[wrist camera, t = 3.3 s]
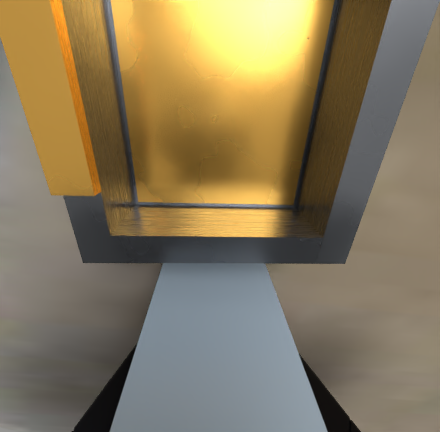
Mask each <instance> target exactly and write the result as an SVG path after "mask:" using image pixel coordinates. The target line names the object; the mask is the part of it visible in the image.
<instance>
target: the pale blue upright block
mask: <svg viewBox="0 0 440 432" xmlns="http://www.w3.org/2000/svg"><path fill="white" fill-rule="evenodd" d="M110 432H327V429H326V426H325V423H324V421H323V418H322V415H321V413H320V410H319V407H318V405H317V402H316V399H315V397H314V394H313V391H312V388H311V386H310V383H309V380H308V378H307V375H306V372H305V370H304V367H303V364H302V362H301V359H300V356H299V354H298V351H297V348H296V345H295V343H294V340H293V337H292V335H291V332H290V329H289V327H288V324H287V321H286V319H285V316H284V313H283V311H282V308H281V305H280V302H279V300H278V297H277V294H276V292H275V289H274V286H273V284H272V281H271V278H270V276H269V273H268V270H267V267H266V265H265V263H163V265H162V268H161V271H160V274H159V278H158V281H157V284H156V287H155V290H154V293H153V297H152V300H151V303H150V306H149V309H148V312H147V315H146V319H145V322H144V325H143V328H142V331H141V334H140V337H139V341H138V344H137V347H136V350H135V353H134V356H133V360H132V363H131V366H130V369H129V372H128V375H127V378H126V382H125V385H124V388H123V391H122V394H121V397H120V401H119V404H118V407H117V410H116V413H115V416H114V419H113V423H112V426H111V429H110Z"/></svg>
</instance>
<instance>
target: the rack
mask: <svg viewBox="0 0 440 432" xmlns="http://www.w3.org/2000/svg"><path fill="white" fill-rule="evenodd" d="M439 2H440V0H0V37H1V40H2V44H3V47H4V50H5V53H6V56H7V59H8V62H9V65H10V68H11V72H12V75H13V78H14V81H15V84H16V87H17V90H18V93H19V96H20V100H21V103H22V106H23V109H24V112H25V115H26V118H27V121H28V125H29V128H30V131H31V134H32V137H33V140H34V143H35V146H36V149H37V153H38V156H39V159H40V162H41V165H42V168H43V171H44V174H45V177H46V181H47V184H48V187H49V190H50V193H51V195H63V196H64V200H65V203H66V206H67V210H68V213H69V217H70V220H71V223H72V227H73V230H74V234H75V237H76V240H77V244H78V247H79V250H80V254H81V257H82V261H83V263H303V264H345V262H346V259H347V257H348V254H349V251H350V248H351V246H352V243H353V240H354V237H355V234H356V232H357V229H358V226H359V223H360V221H361V218H362V215H363V212H364V210H365V207H366V204H367V201H368V198H369V196H370V193H371V190H372V187H373V185H374V182H375V179H376V176H377V173H378V171H379V168H380V165H381V162H382V160H383V157H384V154H385V151H386V149H387V146H388V143H389V140H390V137H391V135H392V132H393V129H394V126H395V124H396V121H397V118H398V115H399V112H400V110H401V107H402V104H403V101H404V99H405V96H406V93H407V90H408V88H409V85H410V82H411V79H412V76H413V74H414V71H415V68H416V65H417V63H418V60H419V57H420V54H421V51H422V49H423V46H424V43H425V40H426V38H427V35H428V32H429V29H430V27H431V24H432V21H433V18H434V15H435V13H436V10H437V7H438V4H439Z"/></svg>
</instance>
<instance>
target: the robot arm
mask: <svg viewBox="0 0 440 432" xmlns="http://www.w3.org/2000/svg"><path fill="white" fill-rule="evenodd" d="M137 344H138V343H137ZM137 344H136V346H135V347H134V348H133V350H132V351H131V352H130V354H129V355H128V356H127V358H126V359H125V360H124V362H123V363H122V364H121V366H120V367H119V368H118V370H117V371H116V372H115V374H114V375H113V376H112V378H111V379H110V380H109V382H108V383H107V385H106V386H105V387H104V389H103V390H102V391H101V393H100V394H99V395H98V397H97V398H96V399H95V401H94V402H93V403H92V405H91V406H90V407H89V409H88V410H87V411H86V413H85V414H84V415H83V417H82V418H81V420H80V421H79V422H78V424H77V425H76V426H75V428H74V431H72V432H110V429H111V426H112V423H113V419H114V416H115V413H116V410H117V407H118V404H119V401H120V397H121V394H122V391H123V388H124V385H125V382H126V378H127V375H128V372H129V369H130V366H131V363H132V360H133V356H134V353H135V350H136V347H137ZM298 354H299V353H298ZM299 356H300V359H301V362H302V364H303V367H304V370H305V372H306V375H307V378H308V380H309V383H310V386H311V388H312V391H313V394H314V397H315V399H316V402H317V405H318V407H319V410H320V413H321V415H322V418H323V421H324V423H325V426H326V429H327V432H361V431H360V430H359V429H358V428H357V426H356V425H355V424H354V422H353V421H352V420H350V418H349V416H348V415H347V414H346V412H345V411H344V410H343V409H342V407H341V406H340V405H339V404H338V402H337V401H336V400H335V399H334V397H333V396H332V395H331V393H330V392H329V391H328V390H327V388H326V387H325V386H324V385H323V383H322V382H321V381H320V380H319V378H318V377H317V376H316V374H315V373H314V372H313V371H312V369H311V368H310V367H309V366H308V364H307V363H306V362H305V361H304V359H303V358H302V357H301V355H300V354H299Z"/></svg>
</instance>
